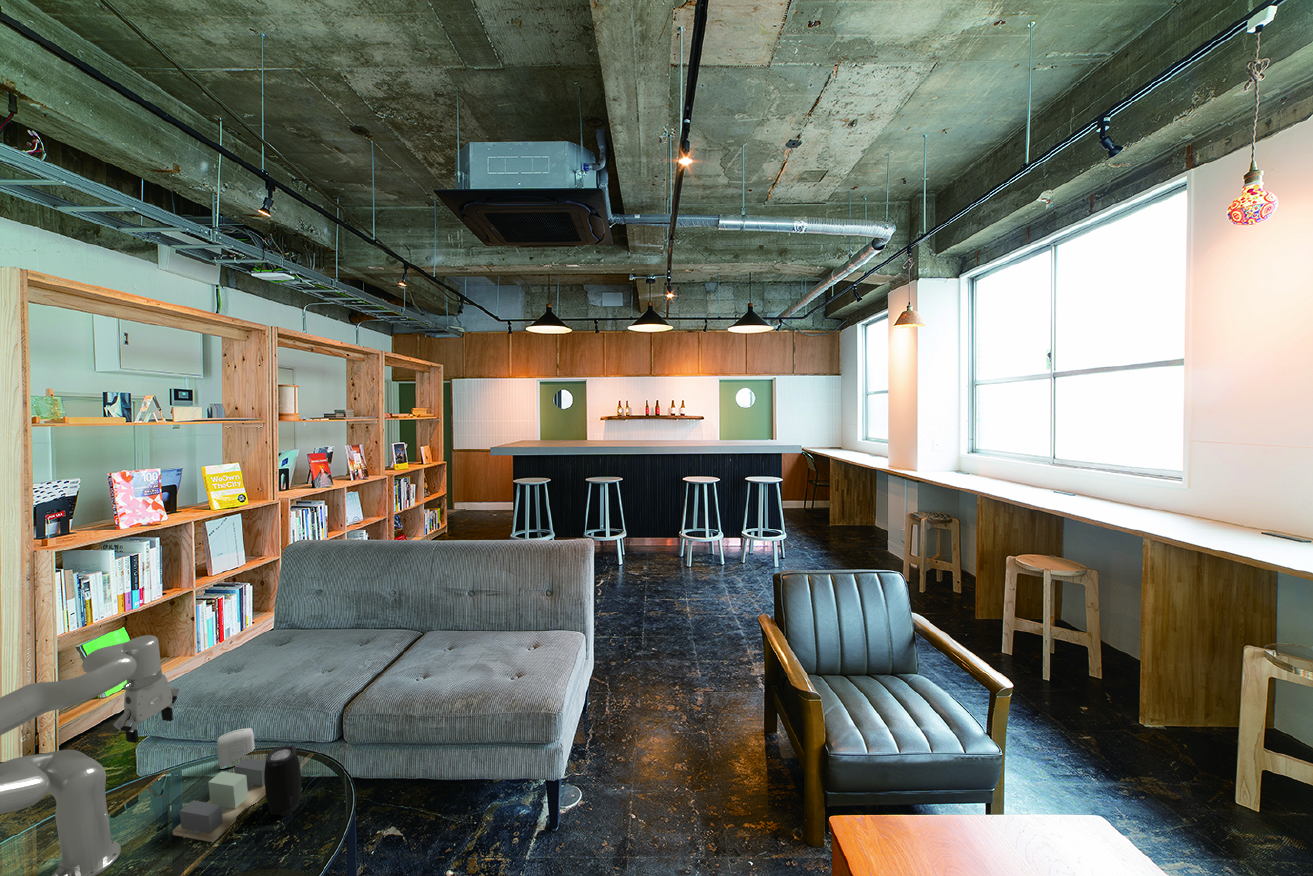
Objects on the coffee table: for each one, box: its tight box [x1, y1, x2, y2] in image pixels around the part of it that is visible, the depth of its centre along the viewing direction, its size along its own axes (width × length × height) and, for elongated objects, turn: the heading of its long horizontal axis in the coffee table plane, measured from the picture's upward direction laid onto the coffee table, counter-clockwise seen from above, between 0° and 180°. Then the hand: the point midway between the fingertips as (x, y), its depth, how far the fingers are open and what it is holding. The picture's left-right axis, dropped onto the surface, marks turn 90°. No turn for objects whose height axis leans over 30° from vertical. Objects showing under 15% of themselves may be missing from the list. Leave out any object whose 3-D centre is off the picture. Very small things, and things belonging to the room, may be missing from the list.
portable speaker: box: [264, 745, 302, 817], centre depth 171 cm, size 9×9×20 cm
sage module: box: [208, 770, 248, 809], centre depth 171 cm, size 4×9×8 cm, turn 82°
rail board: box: [172, 758, 266, 843], centre depth 172 cm, size 24×14×8 cm, turn 171°
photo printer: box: [216, 727, 256, 768], centre depth 189 cm, size 10×4×12 cm, turn 123°
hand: (150, 730), depth 162 cm, fingers open, 9 cm apart
